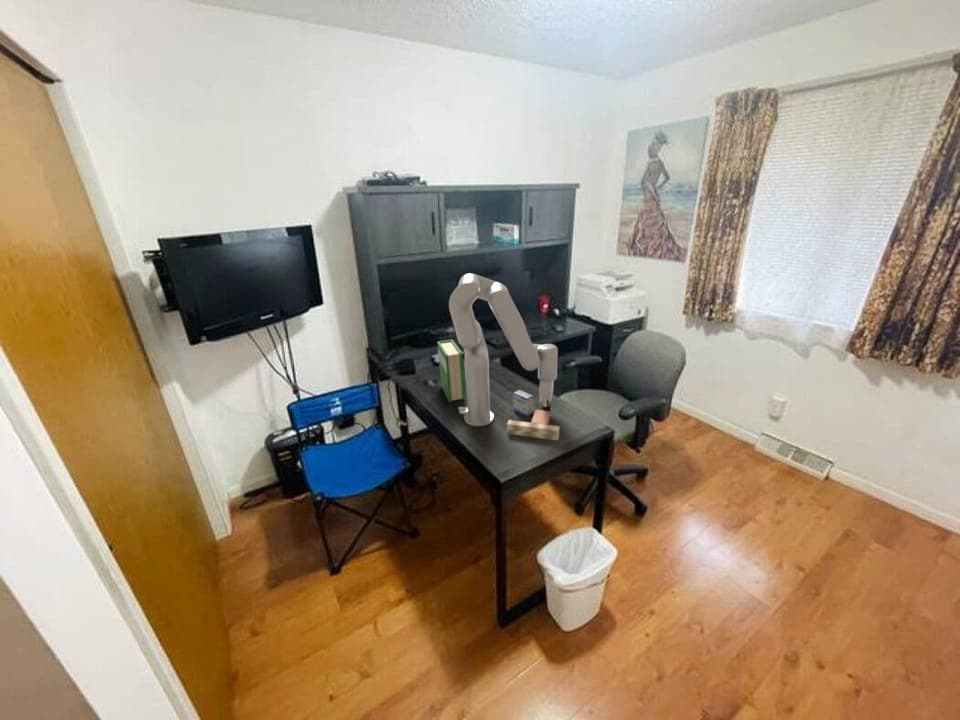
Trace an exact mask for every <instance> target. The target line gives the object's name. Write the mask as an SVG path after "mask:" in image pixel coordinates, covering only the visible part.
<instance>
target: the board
mask: <svg viewBox="0 0 960 720" xmlns="http://www.w3.org/2000/svg"><path fill="white" fill-rule="evenodd" d="M560 427H561V426H559V425H551V424H548V425H545V424H537V423H531V422H528V421H521V420H520V421H519V420H512V419H508V421H507V423H506V429H507V430H506V431H507V432H506V434H507V435H516V436H522V437H529V438H537V439H544V440H550V441H551V440H552V441H559V438H560Z"/></svg>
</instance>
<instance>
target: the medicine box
mask: <svg viewBox="0 0 960 720" xmlns="http://www.w3.org/2000/svg"><path fill="white" fill-rule="evenodd" d="M512 400H513V401H512V402H513V403H512V410H513V411H515V412H517V413H518V414H521V415H523V416H526V417H528V416H530V415H531V414H534V395H533V394H531V393H527V392H526V391H523V390H521V389H518V390H517V391H514V392H513V394H512Z"/></svg>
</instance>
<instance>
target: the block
mask: <svg viewBox="0 0 960 720" xmlns="http://www.w3.org/2000/svg"><path fill="white" fill-rule="evenodd" d="M550 418H551V410H550V411H543V410H542V409H535V411H534V412H533V416H532V418H531V422H530V423H537V424H545V425H549V423H550V420H551V419H550Z"/></svg>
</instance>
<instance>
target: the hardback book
mask: <svg viewBox="0 0 960 720" xmlns="http://www.w3.org/2000/svg"><path fill="white" fill-rule="evenodd" d="M436 342H437V353H438V355H437V356H438V363H439V374H440V375H439V376H440V386H441V389H442V390H443V393H444V395H445V396H446V399H447V401H448V403H449V404H452V403H453V402H452V401H457V400H463V401H466V392H465V380H464V379H465V378H464V377H465V374H464V364H463V363H464V362H463V361H464V360H463V352H462V350H461V349H460V348H459V347H458V345H457V343H456V342H455V341H454V340H453V339H447V340H446V339H445V340H440V341H436Z"/></svg>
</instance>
